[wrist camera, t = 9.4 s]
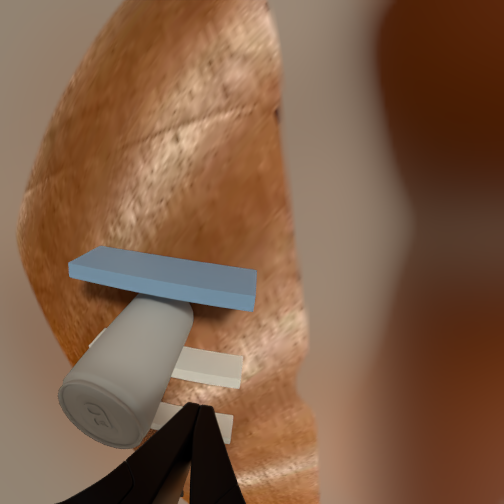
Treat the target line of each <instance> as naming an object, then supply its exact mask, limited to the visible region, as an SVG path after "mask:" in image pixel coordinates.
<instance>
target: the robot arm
mask: <svg viewBox="0 0 504 504" xmlns="http://www.w3.org/2000/svg"><path fill="white" fill-rule="evenodd" d="M190 466H191V474H190V504H246V502H245V500H244V498H243V495H242V493H241V490H240V487H239V485H238V482H237V479H236V477H235V474H234V471H233V468H232V465H231V462H230V459H229V456H228V453H227V450H226V447H225V444H224V441H223V438H222V434H221V431H220V428H219V425H218V421H217V418H216V415H215V411H214V408H213V407H212V406H208V405H201V406H200V405H199V404H197V403H192V402H188V403H186V404H185V405H184V406H183V407H182V408H181V409H180V410H179V411H178V412H177V413H176V414H175V415H174V416H173V417H172V418H171V419H170V420H169V421H168V422H167V423H166V424H164V425H163V426H162V427H161V428H160V429H159V430H158V431H157V432H156V433H155V434H154V435H153V436H152V437H151V438H149V439H148V440H147V441H146V442H145V443H144V444H143V445H142V446H141V447H140V448H138V449H137V450H136V451H135V452H134V453H133V454H132V455H131V456H130V457H128V458H127V459H126V461H124V462H123V463H122V464H120V465H119V466H118V467H117V468H116V469H114V470H113V471H112V472H111V473H109V474H108V475H107V476H105V477H104V478H102V479H101V480H99V481H98V482H96V483H95V484H93V485H91V486H90V487H88V488H86V489H85V490H83V491H81V492H79V493H78V494H76V495H74V496H72V497H71V498H69V499H67V500H65V501H62V502H60V503H56V504H178V501H179V498H180V497H183V495H184V493H183V487H184V484H185V481H186V478H187V475H188V472H189V469H190Z"/></svg>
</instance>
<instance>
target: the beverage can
mask: <svg viewBox="0 0 504 504" xmlns="http://www.w3.org/2000/svg"><path fill="white" fill-rule="evenodd" d="M193 320H194V317H193V310H192V308H191V306H190V304H189V302H187V301H181V300H176V299H170V298H165V297H160V296H154V295H149V294H144V293H139V294H138V295H137V296H136V297H135V298H134V299H133V300H132V301H131V302H130V304H129V305H128V306H127V307H126V308H125V309H124V310H123V311H122V312H121V313H120V314H119V315H118V317H117V318H116V319H115V320H114V321H113V322H112V323H111V324H110V325H109V326H108V328H107V329H106V330H105V331H104V332H103V333H102V334H101V336H100V337H99V338H98V339H97V340H96V341H95V342H94V344H93V345H92V346H91V347H90V348H89V349H88V351H87V352H86V353H85V354H84V355H83V356H82V358H81V359H80V360H79V361H78V362H77V363H76V365H75V366H74V367H73V368H72V369H71V371H70V372H69V373H68V374H67V376H66V377H65V378H64V380H63V385H62V386H61V387H60V389H59V393H58V399H59V403H60V406H61V408H62V410H63V411H64V413H65V414H66V416H67V417H68V418H69V420H70V421H71V422H72V423H73V424H74V425H75V426H76V427H77V428H78V429H79V430H81V431H82V432H83V433H84V434H86V435H87V436H89V437H91V438H92V439H94V440H95V441H98V442H100V443H102V444H104V445H107V446H110V447H114V448H119V449H131V448H134V447H136V446H138V445H139V444H140V443H141V441H142V440H143V438H144V437H145V436H146V434H147V433H148V431H149V430H150V427H151V425H152V422H153V420H154V417H155V415H156V412H157V410H158V407H159V405H160V402H161V400H162V397H163V395H164V392H165V390H166V387H167V385H168V382H169V380H170V378H171V375H172V373H173V370H174V368H175V365H176V363H177V361H178V358H179V356H180V353H181V351H182V349H183V346H184V344H185V341H186V339H187V337H188V334H189V332H190V330H191V327H192V324H193Z"/></svg>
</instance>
